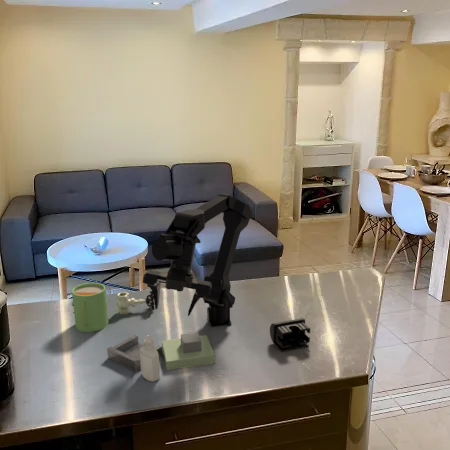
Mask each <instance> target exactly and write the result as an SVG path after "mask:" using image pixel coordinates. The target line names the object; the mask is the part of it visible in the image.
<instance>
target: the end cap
mask: <svg viewBox="0 0 450 450" xmlns="http://www.w3.org/2000/svg"><path fill="white" fill-rule="evenodd" d="M306 332H307V333H306ZM269 334H270V335H269V336H270V339H271V341H272V343H273V344H274V346H275V347H276V348H277V350H279V352H281V353H283V352H284V353H285V352H289V351H293V350H299V349H303V348H304V349H305V348H309V346H310V344H309V343H310V341H311V337H310V336H309V334H311V328H310V327H309V326H308V325H307V324H306V318H303V317H302V318H301V317H300V318H296V319H290V320H284V321H280V322H274V323H271V324H270V326H269Z"/></svg>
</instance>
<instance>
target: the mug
mask: <svg viewBox="0 0 450 450" xmlns="http://www.w3.org/2000/svg"><path fill="white" fill-rule="evenodd" d="M71 295H72V301H71V307H73V314H74V324H75V329H76V330H78V331H79V332H82V333H92V332H96V331H101V330H102V329H105V328H106V327H107V326H108V325H109V314H108V313H109V312H108V310H109V309H108V302H107V289H106V286H105V284H103V283H100V282H86V283H81V284H79V285H76V286H75V287H73V288H72V290H71Z"/></svg>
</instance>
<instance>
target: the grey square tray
mask: <svg viewBox="0 0 450 450" xmlns="http://www.w3.org/2000/svg"><path fill="white" fill-rule="evenodd" d="M142 347H144V343H143V344H142V343H140V342H139V336H138V335H136V334H133V336H130V337H129V338H127V339H125V340H123V341H121V342H120V343H118V344H116V345H114V346H110V347H107V349H106V350H107V358H108V359H110V360H111V361H114V362H115V363H117V364H120V365H121V366H124V367H126V368H127V369H130V370H131V371H133V372H138V371H139V370H141V364H140V349H141V348H142ZM154 348H155V349H156V350H157V352H158V354H159V357H161V356H162V355H164V354H163V349H162V345H160V344H158V345H157V346H156V347H155V346H154Z"/></svg>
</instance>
